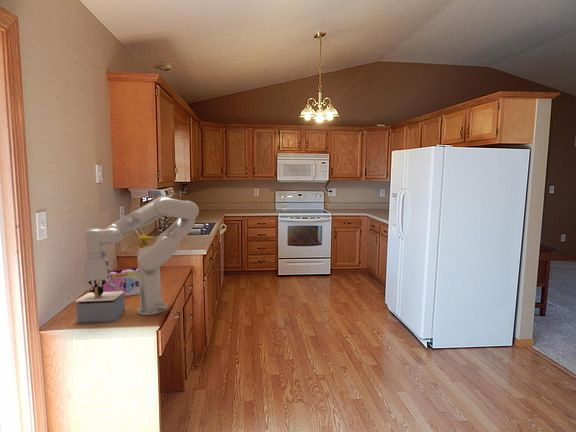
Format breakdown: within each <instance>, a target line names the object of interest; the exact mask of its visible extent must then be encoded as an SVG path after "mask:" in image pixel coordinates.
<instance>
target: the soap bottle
mask: <svg viewBox="0 0 576 432" xmlns="http://www.w3.org/2000/svg"><path fill="white" fill-rule="evenodd" d="M154 237H155V236H149V235H146V234H141V235H139V236H138V237H137V239H138V240H141V241H142V242H140V243H139V249H138V252H139V251H140V250H141V249H142V248H144V247H147V246H149V243H147V242H146V240H153V239H154Z"/></svg>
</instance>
